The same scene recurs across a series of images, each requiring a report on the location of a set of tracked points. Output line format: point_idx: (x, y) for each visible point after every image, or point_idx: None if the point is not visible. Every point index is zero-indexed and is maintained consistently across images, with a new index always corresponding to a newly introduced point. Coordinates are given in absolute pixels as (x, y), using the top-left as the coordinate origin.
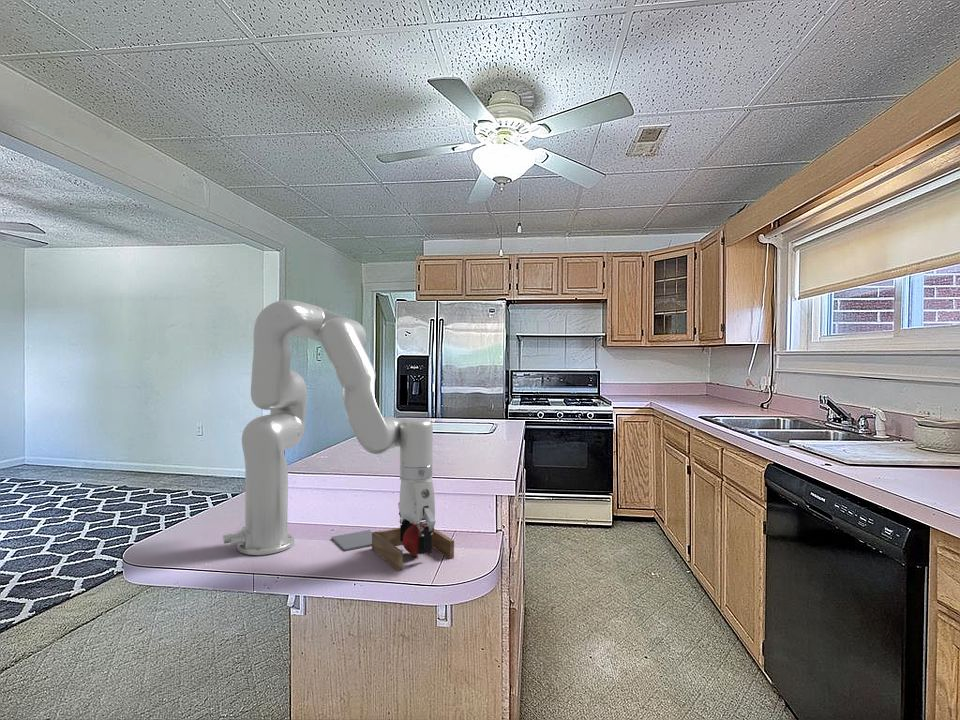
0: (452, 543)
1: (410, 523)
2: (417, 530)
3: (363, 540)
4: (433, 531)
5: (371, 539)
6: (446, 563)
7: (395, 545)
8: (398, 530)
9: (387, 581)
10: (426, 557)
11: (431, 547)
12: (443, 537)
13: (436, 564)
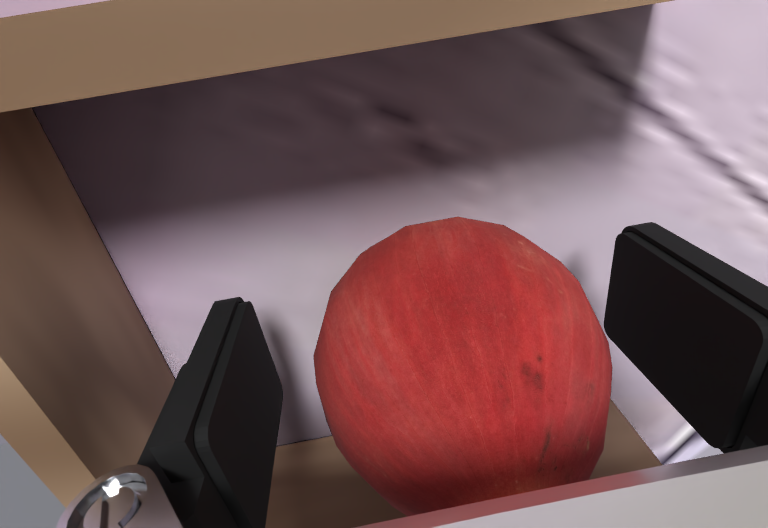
0: None
1: (190, 473)
2: (595, 460)
3: (46, 525)
4: (274, 66)
5: (25, 490)
6: (710, 80)
7: (164, 362)
8: (91, 447)
9: (667, 452)
10: (499, 200)
11: (676, 236)
12: (624, 7)
13: (668, 169)
